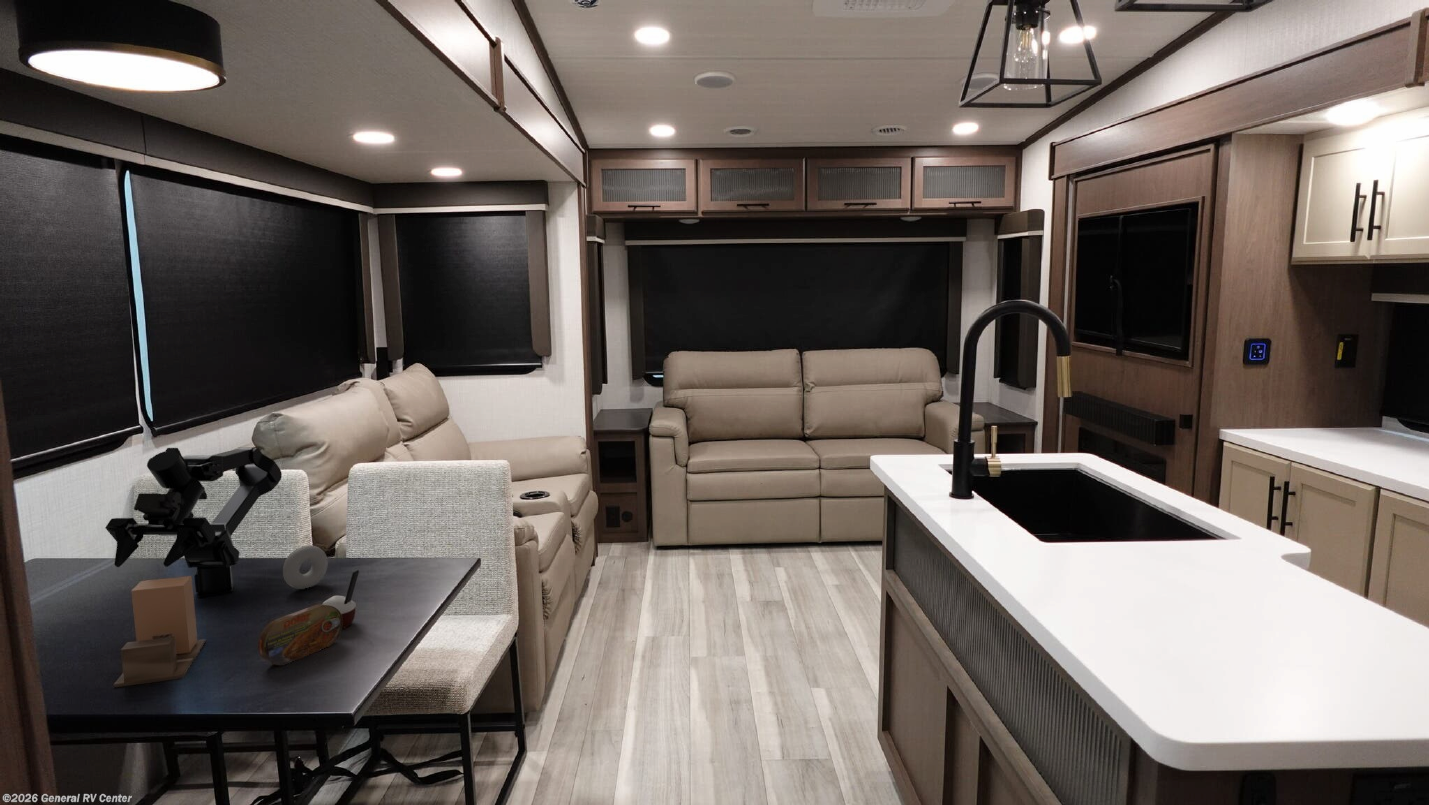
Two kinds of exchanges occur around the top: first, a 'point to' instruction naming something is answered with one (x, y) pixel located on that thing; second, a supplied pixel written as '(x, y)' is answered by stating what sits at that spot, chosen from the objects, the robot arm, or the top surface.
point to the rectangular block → (166, 611)
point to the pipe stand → (154, 661)
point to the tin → (300, 634)
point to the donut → (294, 563)
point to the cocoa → (345, 602)
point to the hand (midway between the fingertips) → (140, 565)
